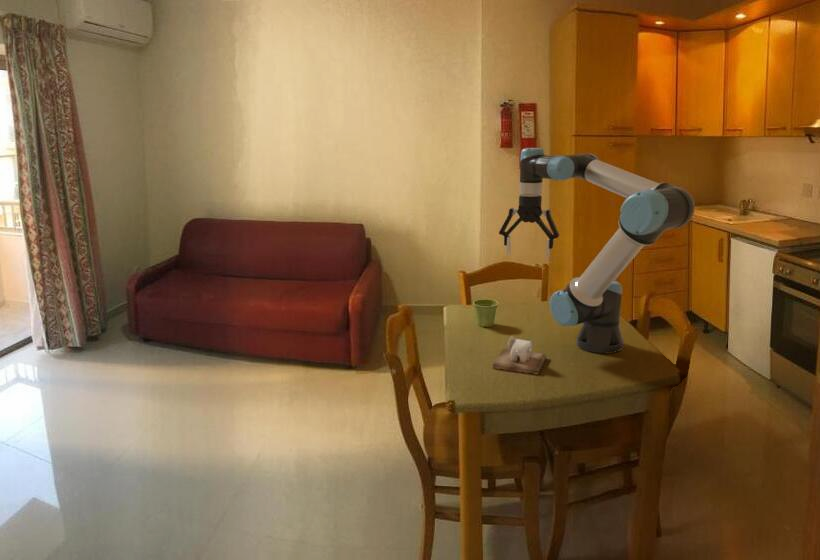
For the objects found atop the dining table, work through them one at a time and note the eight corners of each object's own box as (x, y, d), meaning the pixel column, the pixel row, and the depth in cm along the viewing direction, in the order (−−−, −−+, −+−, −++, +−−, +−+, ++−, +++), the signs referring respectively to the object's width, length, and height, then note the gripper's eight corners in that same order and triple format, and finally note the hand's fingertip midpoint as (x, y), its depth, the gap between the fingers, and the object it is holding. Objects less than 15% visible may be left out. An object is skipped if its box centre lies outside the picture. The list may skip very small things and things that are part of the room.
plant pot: (485, 330, 230) (486, 307, 228) (467, 324, 237) (467, 302, 235) (503, 325, 236) (503, 302, 234) (484, 319, 243) (485, 297, 241)
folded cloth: (546, 358, 203) (546, 353, 203) (538, 374, 191) (538, 369, 190) (503, 352, 208) (503, 348, 208) (492, 368, 196) (493, 363, 195)
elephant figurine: (537, 356, 201) (538, 334, 199) (527, 366, 193) (528, 344, 191) (515, 351, 205) (516, 330, 203) (503, 361, 197) (504, 339, 195)
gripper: (569, 194, 212) (566, 256, 217) (496, 192, 220) (495, 251, 226) (566, 197, 205) (562, 261, 210) (491, 194, 214) (489, 255, 219)
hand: (527, 256), depth 218 cm, fingers open, 13 cm apart
